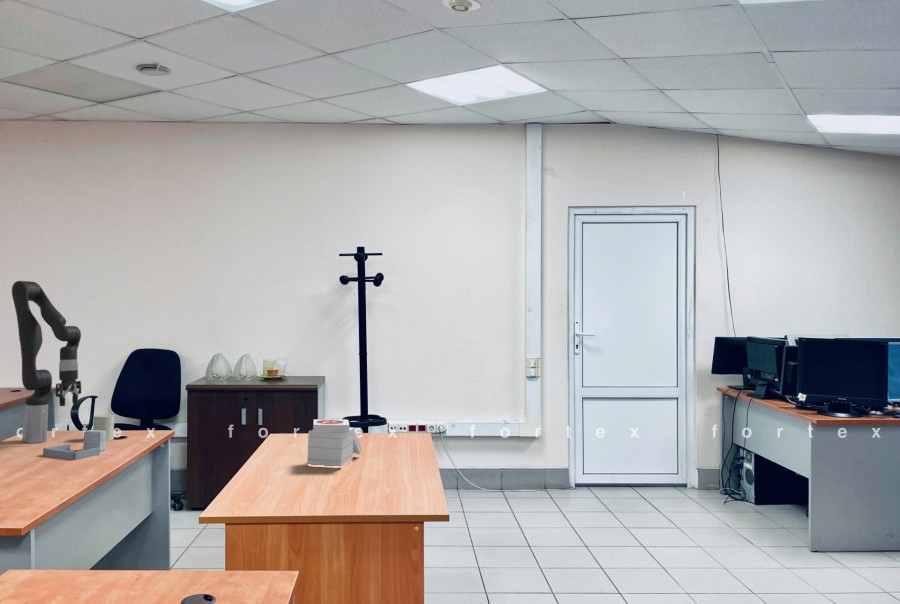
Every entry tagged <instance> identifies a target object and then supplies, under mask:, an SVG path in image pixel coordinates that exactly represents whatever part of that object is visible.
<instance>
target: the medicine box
mask: <svg viewBox="0 0 900 604" xmlns="http://www.w3.org/2000/svg"><path fill="white" fill-rule="evenodd" d="M106 442H107V441H106V431H102V430H93V429H89V430H85V431H84V432H83V447H82V448H83V449H82V451H83V450H87V449H92V448H97V447H98V448H100V451H99V453H100V452H103V451H106V446H107V445H106V444H107V443H106Z"/></svg>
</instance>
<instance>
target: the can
mask: <svg viewBox="0 0 900 604" xmlns="http://www.w3.org/2000/svg"><path fill="white" fill-rule="evenodd" d="M115 416H116V415H115V414H110V413H101V414H100V413H99V414H94V415H93V422H92V423H93V426H92V427H93V429H92V430H102V431H106V442H109V441H113V440H114V433H115V432H114V429H115V428H114V427H115Z"/></svg>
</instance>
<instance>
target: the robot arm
mask: <svg viewBox="0 0 900 604" xmlns="http://www.w3.org/2000/svg"><path fill="white" fill-rule="evenodd" d="M11 296H12V300H13V304H14V305H13V306H14V309H15V313H16V320H17V328H18V339H19V340H18V341H19V345H20V354H21V381H22V382H21V383H22V385H23V388H24V389H25V390H27V391H33V393H32V394H31V395H30V396H29V397H27V398H26V399H25V404H24V405H25V406H24V407H25V412H24V420H23V421H22V437H21V440H22V442H24V443H26V444H36V443H38V444H40V443H44V442H47V440H48V421H49V420H48V419H49V401H50V399H51V396H52V388H53V387H52V386H53V376H52V373H51V372H50V370H47V369H38V368H37V363H36V362H37V356H38V354H39V352H40V349H41V347H42V344H43V341H44V340H43V330H42V327H41V325H40V323H39V321H38V320H37V318H36V317H35V316H34V314H33V312H32V310H31V307H30V303H29V302H30V301H31V302H33V303H34V304H35V305H37V307H38V308H39V309H40V316H41V318H42V319H43V320H44V322H45V323H46V324H47V325H48V326H49V327H50V329H51V331H52V332H53V335H54V337H55V338H56V339H57V340H58V341H60V342H66V345H65V346H62V347H61V348H59V365H58V369H59V370H58V371H59V372H58V373H59V377H58V378H59V379H58V380H59V381H61V383H60V382H58V383H55V397H56V398H59V406H60V407H65V406H66V395H67V394H68V393H69V392H70V394H71V395H72V398H71V399H72V405H77V404H78V403H79V395H80V394H82V381H81V380H78V379H79V365H78V364H79V363H78V348H79V346H80V342H81V339H82V332H81V330H80V328H79V327H78V326H76V325H66V324H67V319H66V318H65V316H64V315H62V313H60V311H59V310H58V309H57V308H56V307H55V306H54V304H53V303H52V302H51V300H50V299H49V298H48V296H47V294H46V292H45V291H44V289H43V288H42V287H41V285H39V283H37V281H36V282H35V281H27V280H26V281H24V280H17V281H14V283H13V285H12V287H11Z"/></svg>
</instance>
